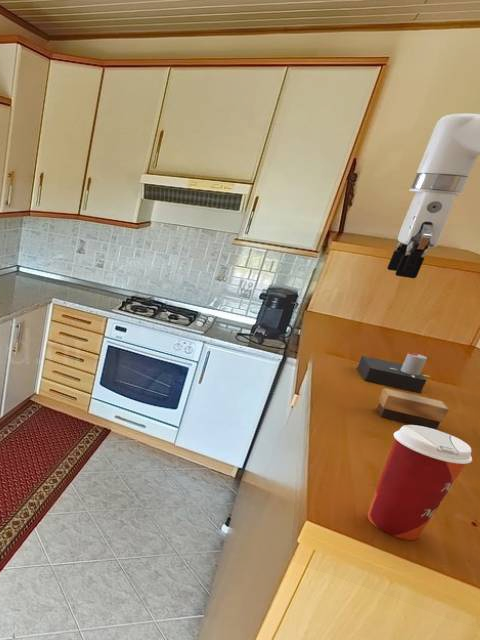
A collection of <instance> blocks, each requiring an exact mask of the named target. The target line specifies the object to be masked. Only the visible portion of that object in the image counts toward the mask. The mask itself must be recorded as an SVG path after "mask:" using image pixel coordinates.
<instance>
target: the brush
mask: <svg viewBox="0 0 480 640" xmlns="http://www.w3.org/2000/svg"><path fill="white" fill-rule="evenodd" d="M449 410H450V408H448V406H447V405H446V404H445V403H444V402H443V401H442V400H438V399H434V398H429V397H424V396H420V395H416V394H411V393H409V392H404V391H399V390H394V389H390V388H386V387H383V388H382V391H381V394H380V396H379V399H378V405H377V408H376V412H378V415H379V416H380V418H383V419H386V420H387V419H388V420H391V421H395V422H399V423H403V424H406V425H417V426H423V427H428V428H432V429H435V430H438V428H439V425H440V423H443V422H444V421H445V418H446V416H447V414H448V412H449Z"/></svg>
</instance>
